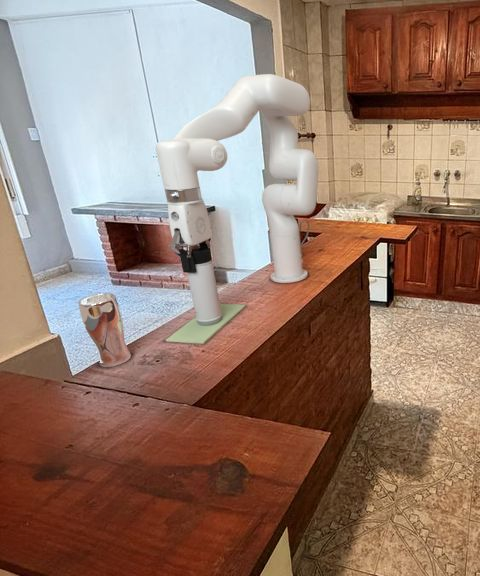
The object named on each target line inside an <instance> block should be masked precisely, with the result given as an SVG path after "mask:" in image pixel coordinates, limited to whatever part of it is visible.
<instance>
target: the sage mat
mask: <svg viewBox="0 0 480 576" xmlns="http://www.w3.org/2000/svg"><path fill="white" fill-rule="evenodd" d="M245 307H247V305H246V304H237V303H220V308H221V314H222V320H221V321H220V322H218V323H216V324H213V325H199V324H198V323H197V319H196V316H195V317H193V318H192V319H191V320H189V321H188V322H186V323H185V324H184V325H183V326H181V327H180V328H179V329H177V330H176V331H175V332H174V333H173V334H171V335H170V336H169V337H167V338H165V342H167V343H183V344H199V345H200V344H201V345H204V344H205V343H206V342H207V341H209V340H210V339H211V338H212V337H213V336H215V334H217V333H218V332H219V331H220V330H221V329H222V328H223V327H224V326H226V325H227V324H228V323H229V322H231V320H232V319H233V318H234V317H236V316H237V315H238V314H239V313H240V312H241V311H242V310H243V309H244V308H245Z"/></svg>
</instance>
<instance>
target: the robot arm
mask: <svg viewBox="0 0 480 576" xmlns="http://www.w3.org/2000/svg"><path fill="white" fill-rule="evenodd" d="M310 106H311V98H310V94H309V92H308V90H307V89H306V87H304V86H303V85H302V84H300V83H299V82H296V81H293V80H290V79H288V78H286V77H282V76H280V75H276V74H273V73H264V74H263V73H262V74H249V75H245V76H242V77H240V78H238V80H236V82H235V83H234V84H233V85H232V86H231V88H230V89H229V90H228V91H227V93H225V94H224V95H223V97H222V98H221V99H220V101H219V102H218V103H217V104H216V105H215V106H213V107H212V108H210V109H208V110H206V111H204V112H202V113H201V114H199V115H198V116H196V117H195V118H193V119H191V120H190V121H188V122H187V123H186V124H185V125H184V126H183V127H182V128H181V129H180V130H179V131H178V132H177V133H176V135H174V137H173V138H172V140H171V139H169V140H161V141H158V142H157V143H156V144H155V151H156V152H155V153H156V157H157V161H158V165H159V171H160V175H161V179H162V183H163V188H164V193H165V197H166V203H167V214H168V215H167V216H168V224H169V230H170V235H171V238H172V239H171V242H170V244H169V248H170V249H171V250H172V251H173V252H174V253H175V254H176V255H177V257H178V258H179V260H180V265H181V269H182V272H183V273H184V274H185V273H186V274H187V273H195V272H196V267H195V262H194V257H191V252H192V249H193V247H194V246H197V248H196V249H201V250H206V249H209V250H210V253H211V245H212V244H211V240H212V237H213V229H212V225H211V220H210V216H209V213H208V209H207V207H206V206H207V205H206V203H205V201H204V199H203V196H202V191H201V187H200V182H199V176H198V172H199V171H201V172H214V171H218V170H221V169H223V167H224V166H225V165H226V164H227V162H228V151H227V149H226V147H225V146H224V144H222V143H221V140H226V139H229V138H232V137H234V136H237V135H239V134H242V133H243V132H244V131H245V130H246V129H247V127H248V126H249V125H250V123H251V122H252V121H253V120H254V118H255V117H256V115H257V114H258V113H259V112H260V113H261V115H262V116H263V118H264V120H265V122H266V123H267V124H266V125H267V126H268V129H269V132H270V133H269V134H270V137H269V138H270V139H269V141H270V142H269V159H268V170H269V173H270V175H271V176H272V177H273V178H274V179H277V180H282V181H296V184H295V183H293V184H292V183H272V184H268V185H267V186H266V187H265V188H264V189H263V191H262V193H261V194H262V195H261V201H262V202H261V203H262V206H263V208H264V211H265V215H266V218H267V223H268V230H269V238H270V247H271V255H272V262H273V270H274V271H273V272H272V273H271V274H270V275H269V276H270V280H271V281H273V282H275V283H278V284H290V283H297V282H300V281H303V280H305V279H306V278H307V277H308V276H309V275H308V271H307V270H306V269H303V268H304V267H303V263H304V259H303V257H301V251H302V247H301V248H300V241H301V236H300V237H299V230H300V226H299V227H298V224H299V223H298V224H297V221H296V219H295V218H296V217H295V216H310V215H312V214H313V212H314V211H315V209H316V206H317V199H318V187H319V185H318V184H319V175H320V174H319V172H320V170H319V169H320V167H319V161H318V158H317V155H316V154H315V153H314V152H313V151H312V150H310V149H306V148H299V134H298V130H297V128H296V126H295V124H294V123H293V121H292V120H291V119H290V117H300V116H303V115H306V113H308V111H309V109H310ZM185 248H186V249H185ZM185 250H187V251H185ZM211 254H212V253H211ZM211 259H212V260H213V257H212V256H211Z"/></svg>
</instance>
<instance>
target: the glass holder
mask: <svg viewBox="0 0 480 576" xmlns="http://www.w3.org/2000/svg"><path fill="white" fill-rule="evenodd" d="M295 219H296V221H297V224H298V227H299V237H300V238H301V231H302V223H303V222H304V221H306V223H307V231H306V235H305V237H304V238H303V240H300V248H301V249H302V245H303V244H304V243H305V242H306V240H307V239H308V237H309V232H310V222H309V220H308V219H305V218H304V219H303V218H302V219H301V220H300V222H299V218H297V217H295ZM303 256H304V254H303V252H302V250H301V258H303Z"/></svg>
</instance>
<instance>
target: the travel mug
mask: <svg viewBox="0 0 480 576" xmlns="http://www.w3.org/2000/svg"><path fill="white" fill-rule="evenodd" d="M184 250H185V251H187V249H184ZM210 252H211V249H210V250H209V249H206V250H201V249H197V248H192V252H191V257H194V262H195V267H196V272H195V273H186V275H187V280H188V285H189V289H190V290H189V291H190V295H191V300H192V304H193V309H194V314H195V317H196V319H197V323H198V324H199V325H213V324H216V323H218V322H220V321H221V320H222V314H221V308H220V304H221V302H220V297H219V292H218V291H219V290H218V287H217V286H218V285H217V280H216V275H215V270H214V263H213V258H212V259H211V257H212V253H210Z"/></svg>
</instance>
